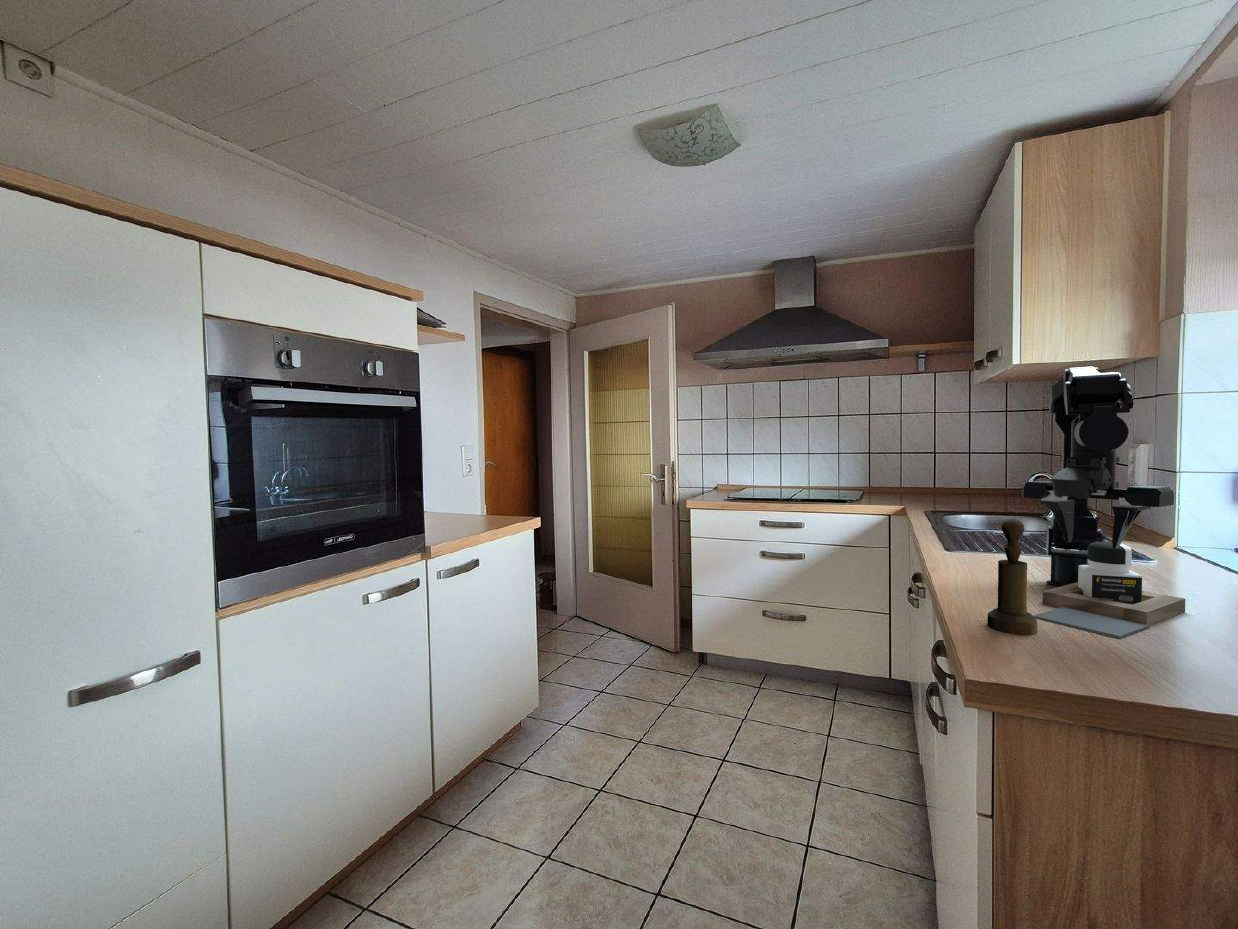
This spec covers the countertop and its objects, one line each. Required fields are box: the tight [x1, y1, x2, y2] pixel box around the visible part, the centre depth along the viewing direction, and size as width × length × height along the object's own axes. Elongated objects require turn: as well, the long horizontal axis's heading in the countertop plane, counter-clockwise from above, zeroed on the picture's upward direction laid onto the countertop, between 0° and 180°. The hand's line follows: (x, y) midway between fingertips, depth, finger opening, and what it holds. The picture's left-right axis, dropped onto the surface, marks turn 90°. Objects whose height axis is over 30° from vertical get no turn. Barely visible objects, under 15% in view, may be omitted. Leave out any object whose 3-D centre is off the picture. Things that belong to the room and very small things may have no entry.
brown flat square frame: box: [1042, 582, 1186, 627], centre depth 103 cm, size 15×15×2 cm
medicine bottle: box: [1078, 541, 1143, 605], centre depth 105 cm, size 7×7×12 cm
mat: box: [1032, 607, 1150, 640], centre depth 95 cm, size 12×10×1 cm
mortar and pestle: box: [986, 518, 1038, 636], centre depth 93 cm, size 7×6×18 cm
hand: (1091, 545), depth 95 cm, fingers open, 6 cm apart
